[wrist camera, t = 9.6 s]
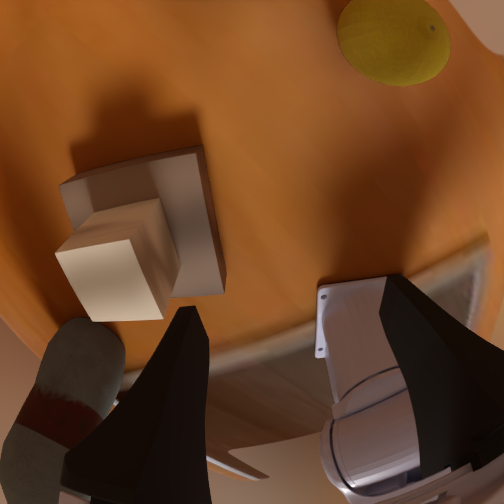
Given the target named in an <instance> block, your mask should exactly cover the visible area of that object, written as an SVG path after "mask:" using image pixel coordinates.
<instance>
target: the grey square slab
mask: <svg viewBox="0 0 504 504" xmlns="http://www.w3.org/2000/svg"><path fill="white" fill-rule="evenodd" d="M59 189H60V192H61V195H62V198H63V201H64V204H65V207H66V210H67V213H68V216H69V218H70V221H71V224H72V227H73V229H74V232H75V231H76V230H77V229H78V228H79V227H80V226H81V225H82V224H83V223H84V222H85V221H86V220H87V219H88V218H89V217H90V216H91V215H92V214H93V213H94V212H98V211H102V210H106V209H110V208H115V207H119V206H123V205H128V204H132V203H137V202H141V201H146V200H151V199H155V198H160V201H161V205H162V208H163V211H164V215H165V218H166V221H167V225H168V228H169V231H170V234H171V237H172V240H173V243H174V246H175V250H176V253H177V256H178V259H179V262H180V264H181V268H180V271H179V274H178V276H177V279H176V282H175V285H174V288H173V291H172V294H171V297H170V298H176V297H191V296H205V295H218V294H224V293H225V284H226V275H227V273H226V268H225V263H224V258H223V253H222V248H221V243H220V237H219V232H218V227H217V222H216V217H215V211H214V206H213V200H212V195H211V189H210V184H209V178H208V173H207V167H206V161H205V155H204V150H203V145H200V146H194V147H188V148H183V149H177V150H172V151H167V152H162V153H157V154H152V155H148V156H143V157H139V158H135V159H130V160H126V161H122V162H118V163H114V164H111V165H107V166H103V167H99V168H96V169H92V170H89V171H85V172H82V173H79V174H76V175H74V176H73V177H71V178H70V179H68V180H67V181H65V182H63V183H62V184H60V185H59Z"/></svg>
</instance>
